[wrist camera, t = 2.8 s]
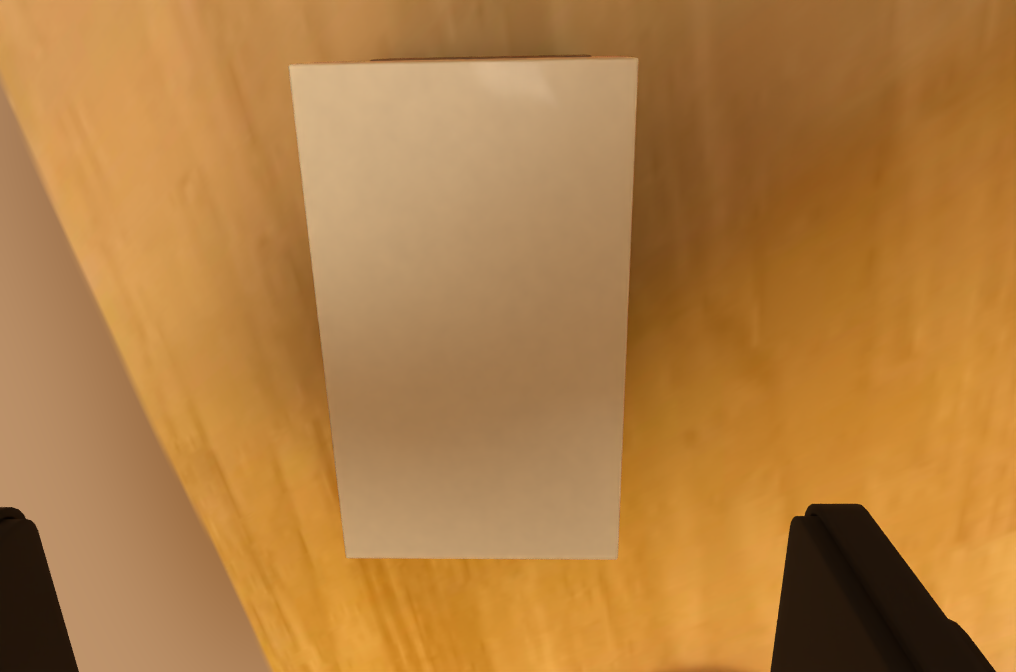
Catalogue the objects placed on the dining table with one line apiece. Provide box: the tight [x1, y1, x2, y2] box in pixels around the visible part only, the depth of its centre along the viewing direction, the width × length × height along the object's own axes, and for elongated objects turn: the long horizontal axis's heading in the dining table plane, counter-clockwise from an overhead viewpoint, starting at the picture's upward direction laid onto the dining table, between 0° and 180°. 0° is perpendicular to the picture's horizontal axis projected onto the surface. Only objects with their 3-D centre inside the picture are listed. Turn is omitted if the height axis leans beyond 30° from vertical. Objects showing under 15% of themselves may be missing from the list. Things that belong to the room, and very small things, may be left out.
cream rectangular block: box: [289, 56, 639, 560], centre depth 18 cm, size 12×7×3 cm, turn 1°
